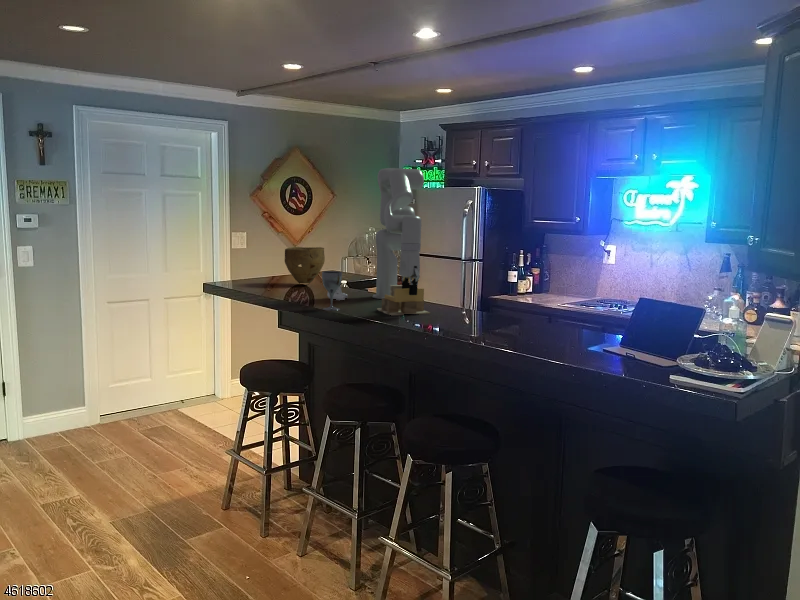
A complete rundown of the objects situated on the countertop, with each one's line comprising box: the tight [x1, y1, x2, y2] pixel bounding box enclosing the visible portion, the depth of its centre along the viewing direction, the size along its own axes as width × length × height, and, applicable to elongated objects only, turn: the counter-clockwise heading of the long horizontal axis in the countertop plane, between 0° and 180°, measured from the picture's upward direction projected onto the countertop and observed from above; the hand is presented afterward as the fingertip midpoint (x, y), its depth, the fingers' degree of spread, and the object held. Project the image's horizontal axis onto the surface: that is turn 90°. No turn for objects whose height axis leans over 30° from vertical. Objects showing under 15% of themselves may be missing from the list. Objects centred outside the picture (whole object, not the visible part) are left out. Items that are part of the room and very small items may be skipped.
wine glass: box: [321, 270, 343, 311], centre depth 261 cm, size 8×8×15 cm
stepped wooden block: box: [376, 284, 431, 316], centre depth 260 cm, size 15×17×10 cm
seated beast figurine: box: [326, 286, 348, 301], centre depth 291 cm, size 10×9×12 cm
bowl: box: [284, 246, 325, 284], centre depth 337 cm, size 21×20×20 cm
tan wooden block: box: [385, 287, 425, 302], centre depth 259 cm, size 11×12×5 cm
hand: (409, 293), depth 255 cm, fingers open, 6 cm apart
